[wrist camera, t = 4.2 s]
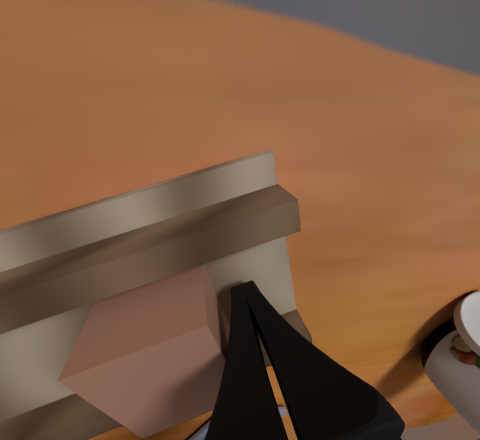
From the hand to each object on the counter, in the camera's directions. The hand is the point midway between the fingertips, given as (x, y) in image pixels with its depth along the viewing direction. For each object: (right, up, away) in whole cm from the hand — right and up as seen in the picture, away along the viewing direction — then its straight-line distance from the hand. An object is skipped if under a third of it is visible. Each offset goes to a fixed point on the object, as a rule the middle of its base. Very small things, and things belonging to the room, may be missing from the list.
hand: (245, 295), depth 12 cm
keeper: (-4, -1, 0) cm, 4 cm away
